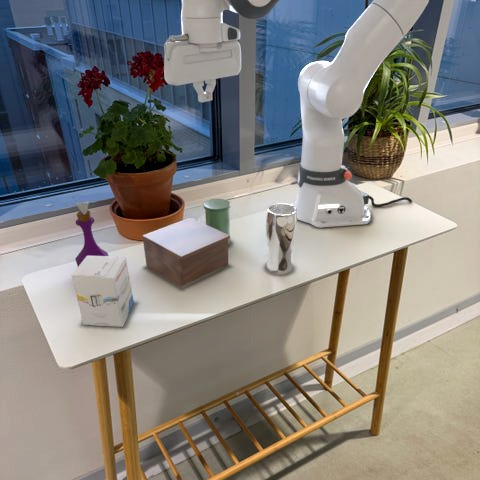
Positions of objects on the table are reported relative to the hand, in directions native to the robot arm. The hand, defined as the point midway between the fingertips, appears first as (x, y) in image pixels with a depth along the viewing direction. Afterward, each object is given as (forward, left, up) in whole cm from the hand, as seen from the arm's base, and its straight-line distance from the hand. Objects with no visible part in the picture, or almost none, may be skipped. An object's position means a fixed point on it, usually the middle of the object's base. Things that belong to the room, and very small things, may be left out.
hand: (205, 101), depth 113 cm
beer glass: (-18, +20, -33) cm, 43 cm away
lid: (+4, +20, -25) cm, 33 cm away
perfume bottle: (+25, +24, -33) cm, 48 cm away
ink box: (+18, +40, -33) cm, 55 cm away
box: (+4, +20, -33) cm, 39 cm away
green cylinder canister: (-3, +7, -33) cm, 34 cm away
